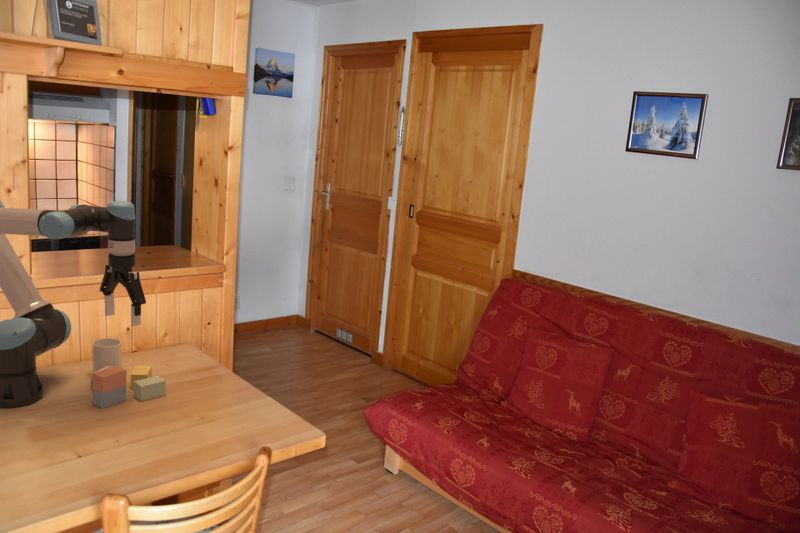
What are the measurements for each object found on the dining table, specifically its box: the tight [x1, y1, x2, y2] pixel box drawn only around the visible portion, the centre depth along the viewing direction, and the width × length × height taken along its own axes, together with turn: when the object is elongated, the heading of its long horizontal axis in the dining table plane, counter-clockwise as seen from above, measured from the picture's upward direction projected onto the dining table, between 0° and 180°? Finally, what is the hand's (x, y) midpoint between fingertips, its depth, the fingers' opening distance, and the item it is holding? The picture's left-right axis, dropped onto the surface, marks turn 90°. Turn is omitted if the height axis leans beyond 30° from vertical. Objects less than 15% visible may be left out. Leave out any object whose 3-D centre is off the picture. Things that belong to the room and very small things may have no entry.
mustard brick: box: [130, 364, 153, 390], centre depth 215 cm, size 5×8×5 cm, turn 10°
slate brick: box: [91, 384, 127, 409], centre depth 200 cm, size 5×8×5 cm, turn 146°
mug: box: [91, 337, 123, 373], centre depth 221 cm, size 12×9×11 cm
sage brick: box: [133, 375, 167, 402], centre depth 207 cm, size 5×8×5 cm, turn 138°
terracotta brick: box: [91, 366, 127, 393], centre depth 199 cm, size 5×8×5 cm, turn 150°
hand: (122, 320), depth 202 cm, fingers open, 13 cm apart
